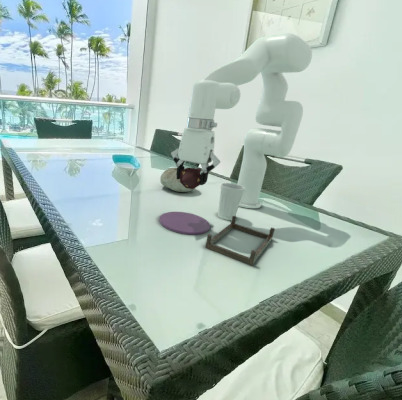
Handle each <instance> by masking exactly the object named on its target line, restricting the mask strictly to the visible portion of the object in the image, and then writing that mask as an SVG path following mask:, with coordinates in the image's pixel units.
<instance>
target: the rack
mask: <svg viewBox="0 0 402 400" xmlns="http://www.w3.org/2000/svg"><path fill="white" fill-rule="evenodd" d="M236 220H237V215H236V216H233V217H232V220H230V221H231V222H230V223H229V224H228V225H227V226H226V227H224V228H223V229H221V230H220V231H219V232H218V233H217V234H215V235H214V236H213V235H212V234H211V233H208V234H207V236H206V241H205V249H209V250H211V251H213V252H216V253H218V254H220V255H223V256H226V257H228V258H231V259H233V260H236V261H238V262H241V263H243V264H247V265H248V266H251V267H252V266H254V264H255V263H256V261H257V260H258V259H259V258H260V256H261V255H262V254H263V252H264V251H265V249H266V248H267V247H268V246H269V244H270V243H271V241H273V238H274V234H275V230H276V228H275V227H270V229H269V232H268V233H266V232H264V231H261V230H257V229H253V228H250V227H248V226H245V225H241V224H238V223H236ZM233 229H235V230H237V231H241V232H242V233H243V232H244V233H246V234H249V235H251V236H252V235H253V236H255V237H259V238H262V239H264V241H263V242H262V243H261V244H260V246H259V247H258V248H257V249H251V251H250V254H249V257H248V256H246V255H244V254H241V253H238V252H236V251H234V250H231V249H229V248H225V247H223V246H220V245H217V244H216V243H217V242H218V241H220V240H221V239H222V238H223V237H224V236H226V235H227V234H228V233H229V232H230V231H232V230H233Z"/></svg>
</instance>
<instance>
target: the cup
mask: <svg viewBox="0 0 402 400" xmlns="http://www.w3.org/2000/svg"><path fill="white" fill-rule="evenodd" d="M244 189H245V188H244V187H243V186H241V185H238V184H237V183H233V182H222V183H221V185H220V194H219V202H218V212H217V217H218V218H220V219H222V220H226V221H232V217H233V216H236V217H237V213H238V209H239V207H240V206H239V204H240V201H241V197H242V195H243V192H244Z"/></svg>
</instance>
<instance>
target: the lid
mask: <svg viewBox="0 0 402 400" xmlns="http://www.w3.org/2000/svg"><path fill="white" fill-rule="evenodd" d="M158 221H159V224H160V225H161V226H162V227H163V228H165V229H166V230H168V231H171V232H174V233H177V234H182V235H190V236H191V235H192V236H193V235H194V236H195V235H203V234H206V233H207V232H209V231H210V229H211V224H210V222H209V221H208V220H207V219H205V218H204V217H202V216H200V215H197V214H195V213H191V212H184V211H168V212H165V213H162V214H161V215H160V216H159V218H158Z"/></svg>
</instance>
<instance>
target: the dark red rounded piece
mask: <svg viewBox="0 0 402 400" xmlns="http://www.w3.org/2000/svg"><path fill="white" fill-rule="evenodd" d="M185 168H186V169H184V170H182V171H181V174H180V183H181V184H182V185H183V186H184V187H185V188H189V189H194V190H195V189H196V188H198V187H200V186H201V185H200V184H199V182H200V177H201V173H202V168H200V167H196V168H195V167H185Z"/></svg>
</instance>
